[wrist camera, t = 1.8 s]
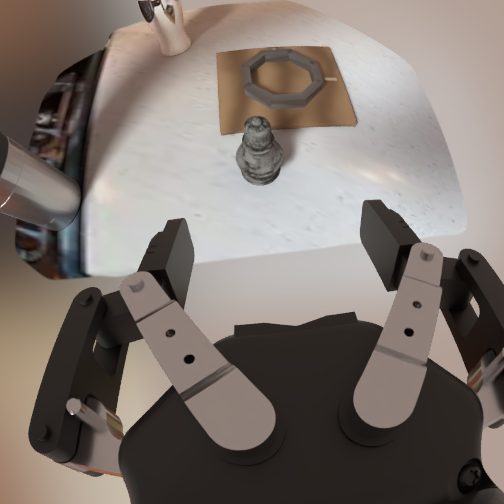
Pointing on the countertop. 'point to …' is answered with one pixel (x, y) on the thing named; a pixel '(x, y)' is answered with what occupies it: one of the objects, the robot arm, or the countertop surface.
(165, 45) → the beer glass
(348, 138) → the countertop surface
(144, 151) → the countertop surface
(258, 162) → the grey turned stone piece
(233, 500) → the robot arm
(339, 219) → the countertop surface
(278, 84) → the socket plate
